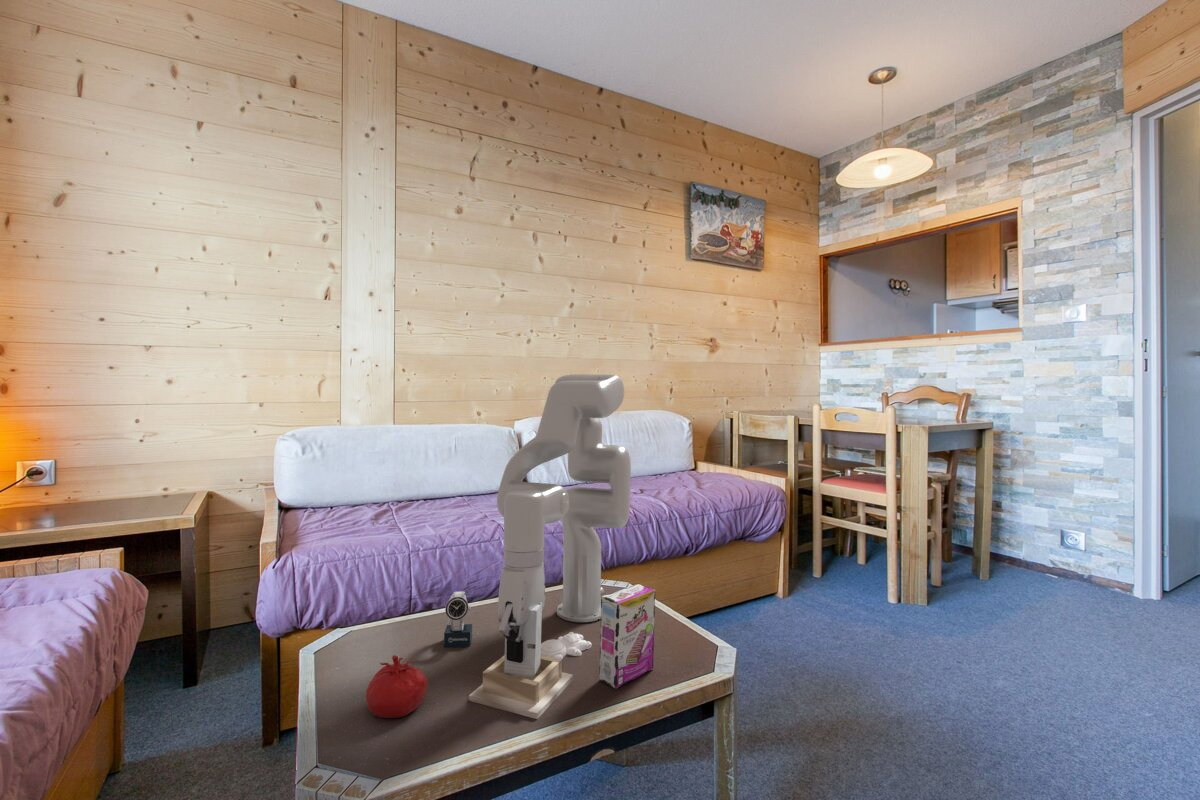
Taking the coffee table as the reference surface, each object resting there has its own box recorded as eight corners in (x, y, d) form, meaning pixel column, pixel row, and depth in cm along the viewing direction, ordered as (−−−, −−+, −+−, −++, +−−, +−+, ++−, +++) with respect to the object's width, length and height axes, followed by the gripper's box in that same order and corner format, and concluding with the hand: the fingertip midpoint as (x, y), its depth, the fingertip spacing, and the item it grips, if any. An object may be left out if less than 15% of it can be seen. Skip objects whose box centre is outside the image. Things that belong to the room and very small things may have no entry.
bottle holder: (510, 665, 112) (511, 643, 112) (573, 679, 106) (573, 656, 106) (469, 700, 99) (469, 675, 99) (537, 719, 93) (537, 693, 93)
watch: (442, 651, 117) (442, 600, 117) (448, 635, 125) (448, 587, 125) (469, 650, 118) (469, 599, 118) (473, 634, 126) (473, 586, 126)
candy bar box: (617, 690, 103) (617, 603, 102) (598, 680, 106) (599, 596, 106) (655, 670, 110) (656, 588, 110) (636, 661, 114) (637, 582, 114)
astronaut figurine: (597, 654, 118) (597, 640, 118) (544, 666, 112) (544, 651, 112) (580, 637, 126) (580, 624, 126) (530, 648, 120) (530, 634, 120)
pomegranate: (404, 731, 90) (405, 675, 90) (353, 720, 93) (353, 666, 93) (438, 697, 100) (438, 647, 99) (390, 688, 102) (390, 639, 102)
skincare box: (503, 674, 101) (503, 608, 100) (510, 661, 105) (510, 599, 105) (536, 676, 100) (536, 611, 100) (542, 664, 104) (542, 601, 104)
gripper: (529, 543, 112) (528, 632, 112) (480, 567, 96) (479, 671, 96) (562, 547, 109) (561, 639, 109) (517, 573, 93) (516, 680, 93)
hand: (523, 653), depth 102 cm, fingers closed on skincare box, 5 cm apart
